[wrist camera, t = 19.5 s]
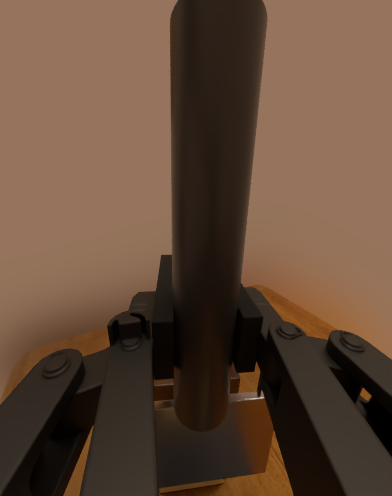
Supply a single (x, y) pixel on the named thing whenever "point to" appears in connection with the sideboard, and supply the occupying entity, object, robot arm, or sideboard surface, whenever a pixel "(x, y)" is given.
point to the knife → (211, 241)
